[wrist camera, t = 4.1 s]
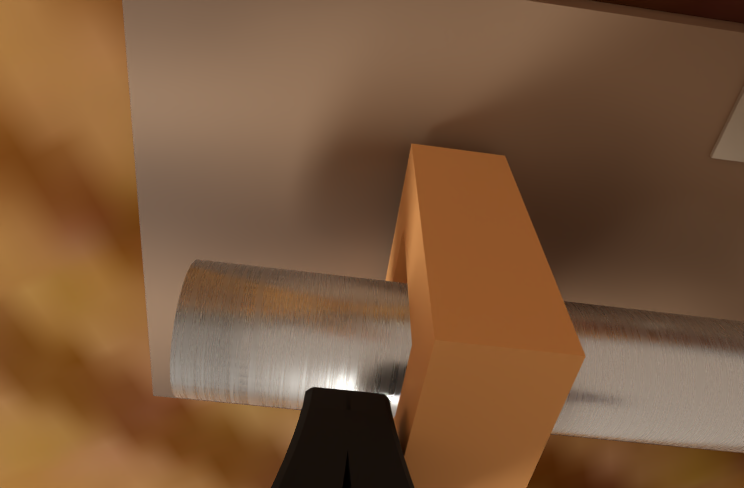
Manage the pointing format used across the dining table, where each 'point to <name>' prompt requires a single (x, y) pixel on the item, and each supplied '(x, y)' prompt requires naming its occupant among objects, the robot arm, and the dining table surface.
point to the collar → (476, 325)
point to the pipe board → (438, 139)
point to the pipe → (393, 345)
